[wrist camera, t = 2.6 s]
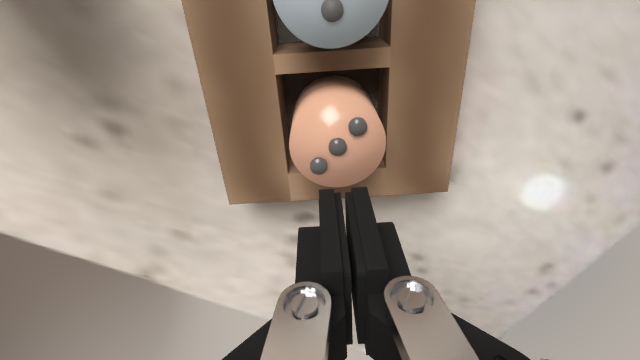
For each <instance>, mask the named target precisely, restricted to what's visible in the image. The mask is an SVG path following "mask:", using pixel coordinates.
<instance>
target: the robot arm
mask: <svg viewBox="0 0 640 360" xmlns="http://www.w3.org/2000/svg"><path fill="white" fill-rule="evenodd" d="M345 205H346V230H345V223H344V215H343V207H342V200H341V193H340V192H337V193H335V192H334V189H319V216H320V226H317V227H301V228H299V230H298V245H297V262H296V279H295V284H293V285H291V286H289V287H288V288H286V289H285V290H284V291H283V292H282V293H281V295H280V297H279V299H278V301H277V304H276V308H275V311H274V315H273V318H272V319H271V320H270V321H268V322H267V323H266V324H265V325H263V326H262V327H261V328H260V329H259V330H257V331H256V332H255V333H254V334H252V335H251V336H250V337H249V338H248V339H246V340H245V341H244V342H243V343H241V344H240V345H239V346H238V347H237V348H235V349H234V350H233V351H232V352H230V353H229V354H228V355H227V356H226V357H224V358H223V359H222V360H345V359H346V358H347V345H348V344H353V339H352V300H353V308H354V316H355V324H356V332H357V340H358V344H365V349H366V355H369V356H370V357H371V358H373V359H374V360H530V359H529V358H528V357H526V356H525V355H523V354H522V353H520V352H519V351H517V350H515V349H514V348H512V347H510V346H508V345H507V344H505V343H503V342H501V341H500V340H498V339H496V338H494V337H493V336H491V335H489V334H487V333H486V332H484V331H482V330H480V329H479V328H477V327H475V326H474V325H472V324H470V323H468V322H467V321H465V320H463V319H461V318H460V317H458V316H456V315H454V314H453V313H451V312H450V311H449V309H448V307H447V306H446V304H445V302H444V301H443V299H442V297H441V296H440V294H439V293H438V291H437V290H436V289H435V287H434V286H433V285H432V284H430V283H429V282H428V281H426V280H424V279H421V278H419V277H414V276H411V274H410V271H409V268H408V265H407V262H406V259H405V256H404V253H403V250H402V247H401V244H400V241H399V238H398V235H397V232H396V229H395V226H394V224H393V222H383V223H376V219H375V215H374V212H373V208H372V204H371V200H370V196H369V193H368V189H367V187H351V192H345ZM351 292H352V297H351ZM540 360H548V359H540Z"/></svg>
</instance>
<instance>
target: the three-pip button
mask: <svg viewBox="0 0 640 360" xmlns="http://www.w3.org/2000/svg"><path fill="white" fill-rule="evenodd" d="M385 148H386V136H385V131H384V128H383V125H382V123H381V121H380V119H379V116H378V114H377V112H376V110H375V108H374V106H373V103H372V101H371V99H370V97H369V95H368V93H367V92H366V90H365V89H364V88H363V87H362V86H361V85H360V84H358V83H357V82H356V81H354V80H352V79H350V78H347V77H343V76H325V77H322V78H319V79H317V80H315V81H313V82H311V83H310V84H309V85H307V86H306V87H305V88H304V89H303V90H302V92H301V93H300V95H299V96H298V98H297V101H296V103H295V107H294V113H293V120H292V126H291V132H290V139H289V150H290V155H291V158H292V161H293V163H294V165H295V166H296V168H297V169H298V170H299V171H300V173H301V174H302V175H304V176H305V177H306V178H307V179H309V180H310V181H312V182H314V183H316V184H319V185H322V186H327V187H346V186H350V185H353V184H356V183H358V182H360V181H362V180H364V179H365V178H367V177H368V176H369V175H371V174H372V173H373V172H374V171H375V170H376V168H377V167H378V166H379V164H380V162H381V160H382V158H383V156H384V152H385Z"/></svg>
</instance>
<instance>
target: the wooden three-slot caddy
mask: <svg viewBox="0 0 640 360" xmlns="http://www.w3.org/2000/svg"><path fill="white" fill-rule="evenodd" d="M181 1H182V5H183V9H184V13H185V18H186V22H187V26H188V30H189V34H190V39H191V43H192V47H193V51H194V56H195V60H196V64H197V68H198V73H199V77H200V81H201V85H202V90H203V94H204V98H205V102H206V107H207V111H208V115H209V119H210V124H211V128H212V132H213V136H214V141H215V145H216V149H217V153H218V158H219V162H220V166H221V170H222V175H223V179H224V183H225V187H226V192H227V196H228V200H229V204H246V203H263V202H280V201H297V200H314V199H319V189H334V192H335V193H337V192H340V193H341V198H345V192H351V187H367V189H368V193H369V196H382V195H398V194H415V193H432V192H447V191H448V184H449V178H450V171H451V164H452V157H453V150H454V144H455V137H456V130H457V123H458V117H459V110H460V103H461V96H462V90H463V83H464V76H465V69H466V63H467V56H468V49H469V42H470V36H471V29H472V22H473V15H474V9H475V2H476V0H389V1H388V4H387V7H386V9H385V11H384V13H383V15H382V17H381V19H380V29H379V37H369V38H362V39H360V40H359V41H357V42H355V43H353V44H351V45H348V46H345V47H341V48H334V49H326V48H319V47H316V46H312V45H310V44H308V43H305V42H295V43H281V44H279V39H278V30H277V21H276V13H275V6H274V3H273V0H181ZM368 68H379V71H378V116H379V119H380V121H381V123H382V125H383V128H384V131H385V136H386V148H385V152H384V156H383V158H382V160H381V162H380V164H379V166H378V167H377V168H376V170H375V171H374V172H373V173H372V174H371V175H369V176H368V177H367V178H365V179H364V180H362V181H360V182H358V183H356V184H353V185H350V186H346V187H327V186H322V185H319V184H316V183H314V182H312V181H310V180H309V179H307V178H306V177H305V176H304V175H302V174H301V173H300V171H299V170H298V169H297V168H296V166H295V165H294V163H293V161H292V158H291V155H290V150H289V139H290V135H289V126H288V117H287V108H286V100H285V91H284V82H283V74H293V73H308V72H323V71H338V70H353V69H368Z"/></svg>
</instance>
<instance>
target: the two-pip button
mask: <svg viewBox="0 0 640 360" xmlns="http://www.w3.org/2000/svg"><path fill="white" fill-rule="evenodd" d="M388 1H389V0H273V3H274V6H275V8H276V11H277V13H278V15H279V17H280V18H281V20H282V22H283V23H284V24H285V26H286V27H287V28H288V29H289V30H290V31H291V32H292V34H294V35H295V36H296V37H297V38H299V39H300V40H302V41H304V42H305V43H308V44H310V45H312V46H316V47H319V48H326V49H334V48H341V47H345V46H348V45H351V44H353V43H355V42H357V41H359V40H360V39H362V38H363V37H364V36H366V35H367V34H368V33H369V32H370V31H371V30H372V29H373V28H374V27H375V26H376V24H377V23H378V22H379V20H380V19H381V17H382V15H383V13H384V11H385V9H386V7H387V4H388Z"/></svg>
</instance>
